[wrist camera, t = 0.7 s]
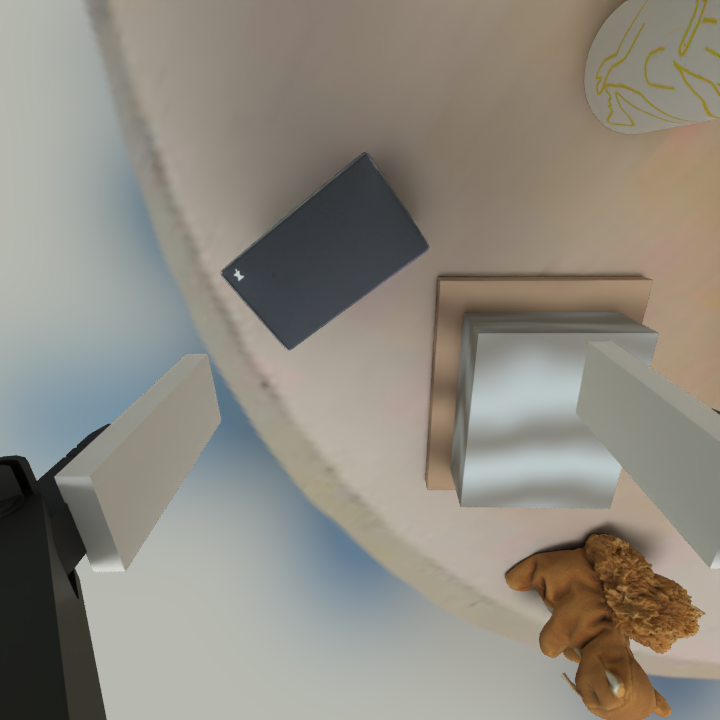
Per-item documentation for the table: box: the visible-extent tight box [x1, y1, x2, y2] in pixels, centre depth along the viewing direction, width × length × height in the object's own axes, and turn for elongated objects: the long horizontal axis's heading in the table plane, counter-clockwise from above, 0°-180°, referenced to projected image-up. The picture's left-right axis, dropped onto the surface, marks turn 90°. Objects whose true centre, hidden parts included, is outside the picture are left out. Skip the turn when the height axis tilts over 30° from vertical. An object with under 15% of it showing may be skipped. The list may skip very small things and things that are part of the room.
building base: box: [425, 276, 659, 509], centre depth 34 cm, size 20×16×6 cm
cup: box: [584, 0, 720, 134], centre depth 22 cm, size 8×8×12 cm
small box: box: [221, 152, 429, 351], centre depth 28 cm, size 11×6×10 cm, turn 127°
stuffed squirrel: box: [506, 534, 705, 720], centre depth 39 cm, size 10×14×13 cm
